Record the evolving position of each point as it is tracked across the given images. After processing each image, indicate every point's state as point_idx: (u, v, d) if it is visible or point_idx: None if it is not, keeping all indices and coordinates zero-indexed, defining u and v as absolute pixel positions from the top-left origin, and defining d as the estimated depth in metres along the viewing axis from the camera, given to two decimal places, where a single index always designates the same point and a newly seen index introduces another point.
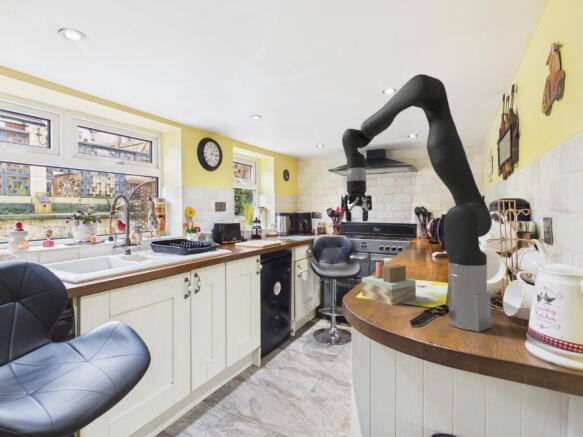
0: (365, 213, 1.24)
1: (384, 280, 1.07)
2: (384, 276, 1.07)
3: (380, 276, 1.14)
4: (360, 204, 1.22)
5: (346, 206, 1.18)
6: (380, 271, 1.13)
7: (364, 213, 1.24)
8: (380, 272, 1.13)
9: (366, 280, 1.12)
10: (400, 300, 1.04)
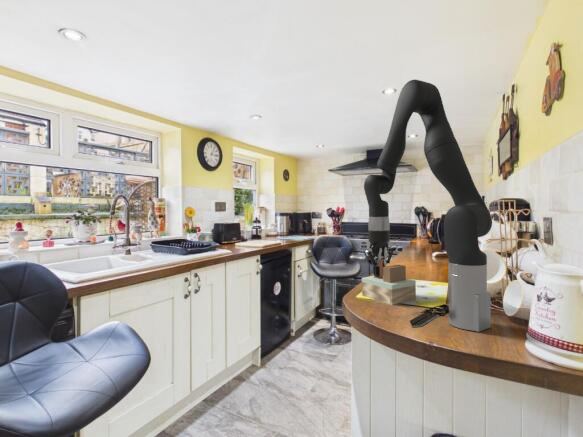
0: None
1: (384, 280, 1.07)
2: (384, 276, 1.07)
3: (380, 272, 1.13)
4: (380, 253, 1.13)
5: (373, 261, 1.11)
6: (380, 267, 1.13)
7: None
8: (380, 268, 1.13)
9: (366, 280, 1.12)
10: (400, 300, 1.04)
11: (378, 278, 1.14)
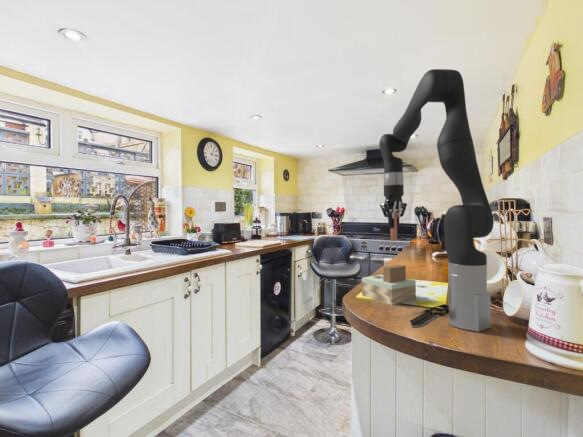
0: None
1: (384, 280, 1.07)
2: (384, 276, 1.07)
3: (394, 222, 1.23)
4: None
5: (389, 213, 1.21)
6: (394, 218, 1.23)
7: None
8: (394, 219, 1.23)
9: (366, 280, 1.12)
10: (400, 300, 1.04)
11: (393, 228, 1.23)
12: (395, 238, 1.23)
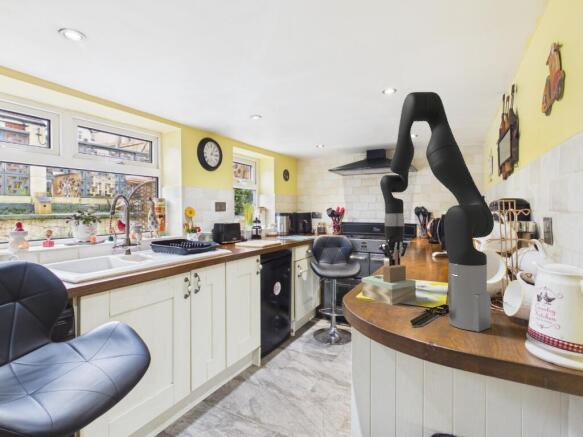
0: None
1: (384, 280, 1.07)
2: (384, 276, 1.07)
3: (395, 262, 1.24)
4: None
5: (390, 254, 1.22)
6: (395, 257, 1.24)
7: None
8: (395, 258, 1.24)
9: (366, 280, 1.12)
10: (400, 300, 1.04)
11: None
12: None
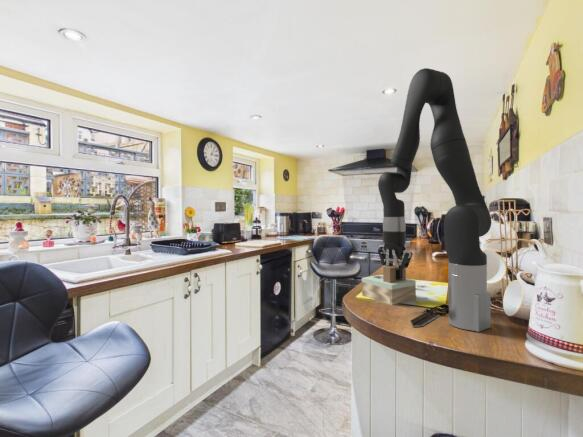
0: None
1: (384, 280, 1.07)
2: (384, 276, 1.07)
3: None
4: (392, 256, 1.08)
5: (382, 261, 1.12)
6: None
7: None
8: None
9: (366, 280, 1.12)
10: (400, 300, 1.04)
11: None
12: None
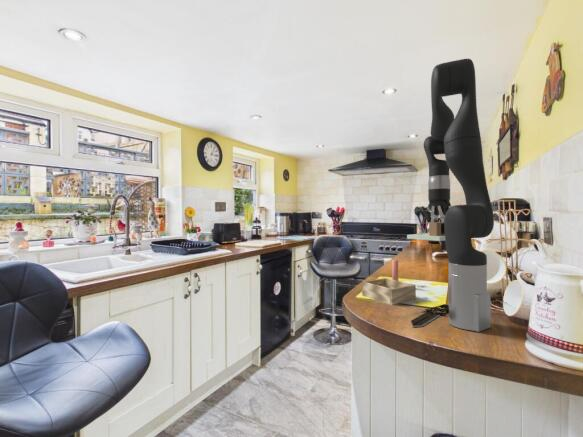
0: None
1: (430, 234, 1.17)
2: (430, 231, 1.17)
3: (396, 273, 1.24)
4: (437, 212, 1.18)
5: (427, 218, 1.21)
6: (396, 268, 1.24)
7: None
8: (396, 269, 1.24)
9: (412, 236, 1.22)
10: (400, 300, 1.04)
11: (394, 278, 1.24)
12: None
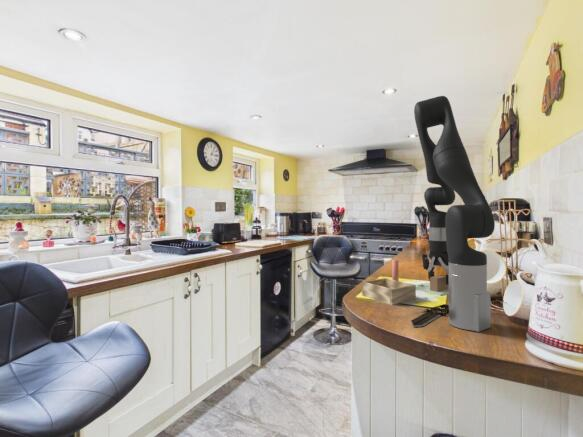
0: None
1: (431, 289, 1.18)
2: (431, 286, 1.18)
3: (396, 273, 1.24)
4: (439, 264, 1.18)
5: (424, 265, 1.23)
6: (396, 268, 1.24)
7: None
8: (396, 269, 1.24)
9: None
10: (400, 300, 1.04)
11: (394, 278, 1.24)
12: None
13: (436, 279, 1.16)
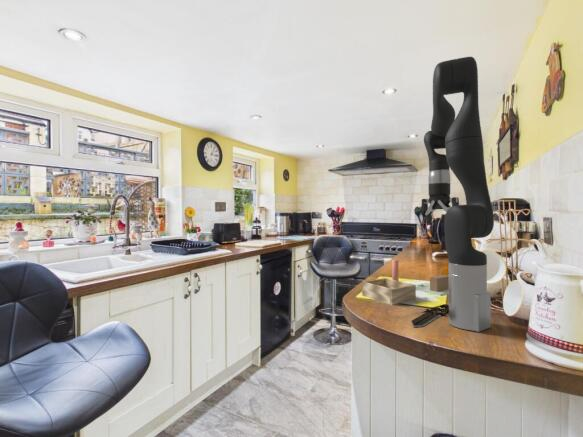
0: None
1: (431, 289, 1.18)
2: (431, 286, 1.18)
3: (396, 273, 1.24)
4: (439, 207, 1.17)
5: (422, 210, 1.23)
6: (396, 268, 1.24)
7: None
8: (396, 269, 1.24)
9: None
10: (400, 300, 1.04)
11: (394, 278, 1.24)
12: None
13: (436, 279, 1.16)
